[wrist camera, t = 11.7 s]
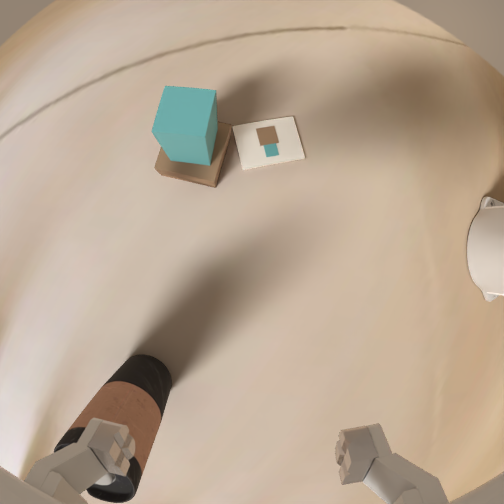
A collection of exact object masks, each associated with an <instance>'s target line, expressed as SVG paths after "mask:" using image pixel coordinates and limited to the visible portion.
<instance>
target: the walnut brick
mask: <svg viewBox="0 0 504 504" xmlns="http://www.w3.org/2000/svg"><path fill="white" fill-rule="evenodd" d="M217 125H218V130H217V134H216V139H215V144H214V149H213V154H212V159H211V164H210V166H209V165H202V164H194V163H186V162H178V161H170V159H169V157H168V156H167V154H166V153H165V151H164V150H163V148H162V147H161V149H160V152H159V155H158V158H157V161H156V164H155V167H154V168H155V169H156V170H157V171H158V172H159V173H160V174H161V175H162V176H167V177H171V178H176V179H180V180H185V181H189V182H193V183H198V184H202V185H206V186H210V187H214V188H216V185H217V181H218V178H219V174H220V171H221V168H222V164H223V161H224V157H225V154H226V151H227V147H228V144H229V141H230V137H231V124H226V123H222V122H217Z"/></svg>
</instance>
